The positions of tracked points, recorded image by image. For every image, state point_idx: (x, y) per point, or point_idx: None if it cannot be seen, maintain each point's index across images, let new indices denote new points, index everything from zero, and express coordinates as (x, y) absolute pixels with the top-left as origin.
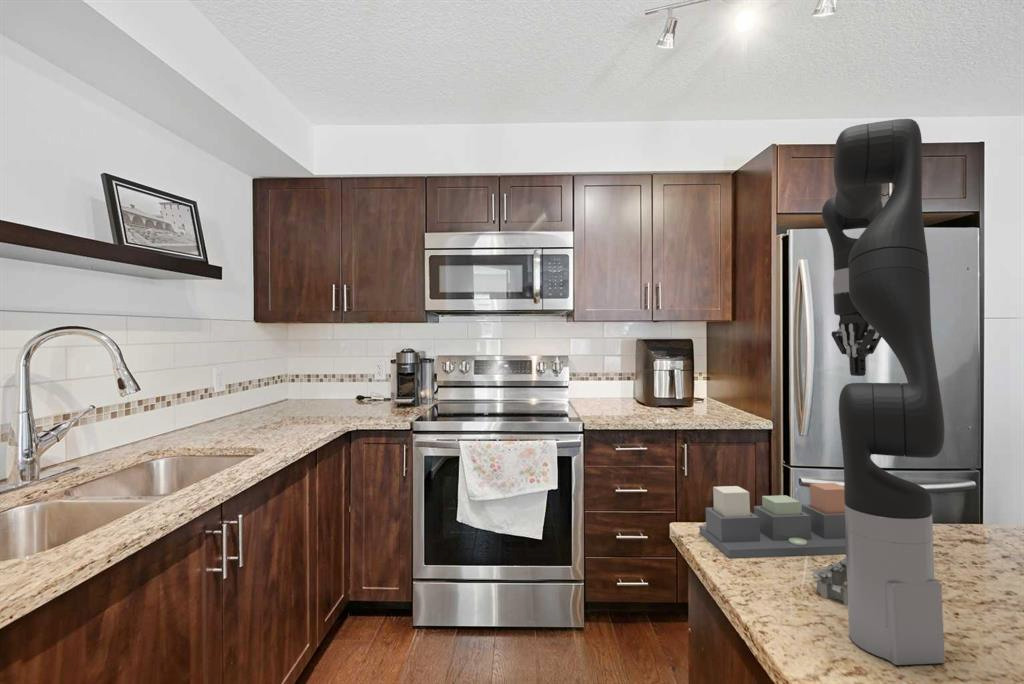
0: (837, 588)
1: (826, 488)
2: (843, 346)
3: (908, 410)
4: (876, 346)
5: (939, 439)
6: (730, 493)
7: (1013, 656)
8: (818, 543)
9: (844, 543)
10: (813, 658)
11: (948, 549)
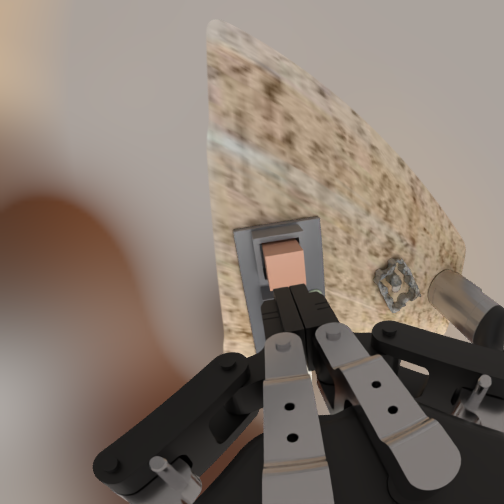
0: (405, 300)
1: (298, 280)
2: (241, 429)
3: None
4: (436, 334)
5: None
6: (311, 377)
7: (458, 233)
8: (315, 277)
9: (315, 251)
10: (440, 325)
11: (303, 133)
